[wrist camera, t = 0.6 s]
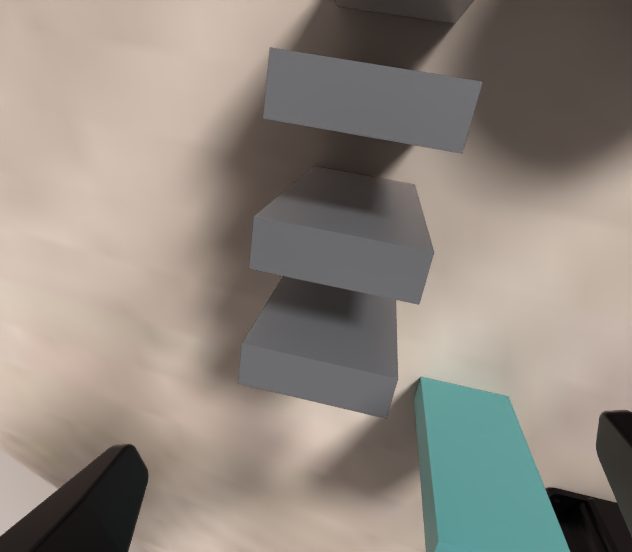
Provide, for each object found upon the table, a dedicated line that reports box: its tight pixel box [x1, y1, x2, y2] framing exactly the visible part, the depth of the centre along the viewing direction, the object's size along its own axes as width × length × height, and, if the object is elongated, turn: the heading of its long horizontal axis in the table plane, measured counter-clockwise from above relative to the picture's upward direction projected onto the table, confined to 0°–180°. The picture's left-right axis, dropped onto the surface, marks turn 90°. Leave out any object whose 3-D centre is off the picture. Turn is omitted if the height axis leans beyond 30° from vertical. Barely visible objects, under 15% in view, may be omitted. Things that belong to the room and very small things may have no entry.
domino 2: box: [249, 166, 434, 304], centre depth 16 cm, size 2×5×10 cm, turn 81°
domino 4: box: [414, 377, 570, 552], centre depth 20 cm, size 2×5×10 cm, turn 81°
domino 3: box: [238, 276, 398, 419], centre depth 18 cm, size 2×5×10 cm, turn 81°
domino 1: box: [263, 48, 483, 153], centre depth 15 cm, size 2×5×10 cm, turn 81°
